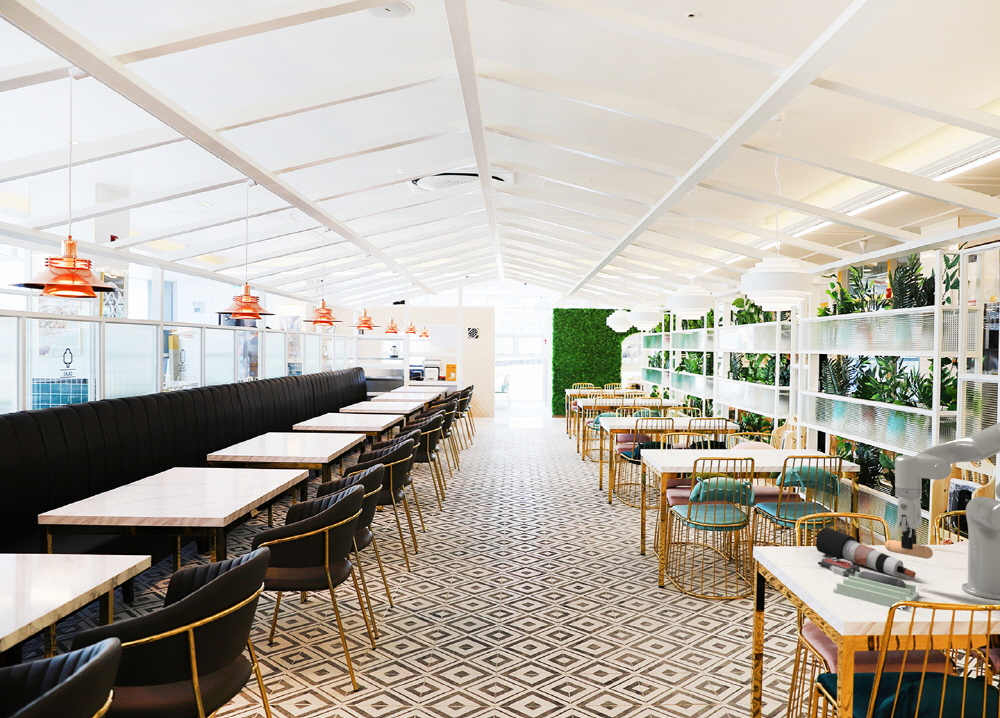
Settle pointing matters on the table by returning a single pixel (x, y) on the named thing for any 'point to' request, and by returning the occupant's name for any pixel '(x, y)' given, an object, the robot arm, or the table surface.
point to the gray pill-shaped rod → (882, 579)
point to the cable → (858, 553)
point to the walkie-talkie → (840, 566)
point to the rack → (875, 591)
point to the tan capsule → (916, 551)
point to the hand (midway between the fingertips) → (909, 546)
